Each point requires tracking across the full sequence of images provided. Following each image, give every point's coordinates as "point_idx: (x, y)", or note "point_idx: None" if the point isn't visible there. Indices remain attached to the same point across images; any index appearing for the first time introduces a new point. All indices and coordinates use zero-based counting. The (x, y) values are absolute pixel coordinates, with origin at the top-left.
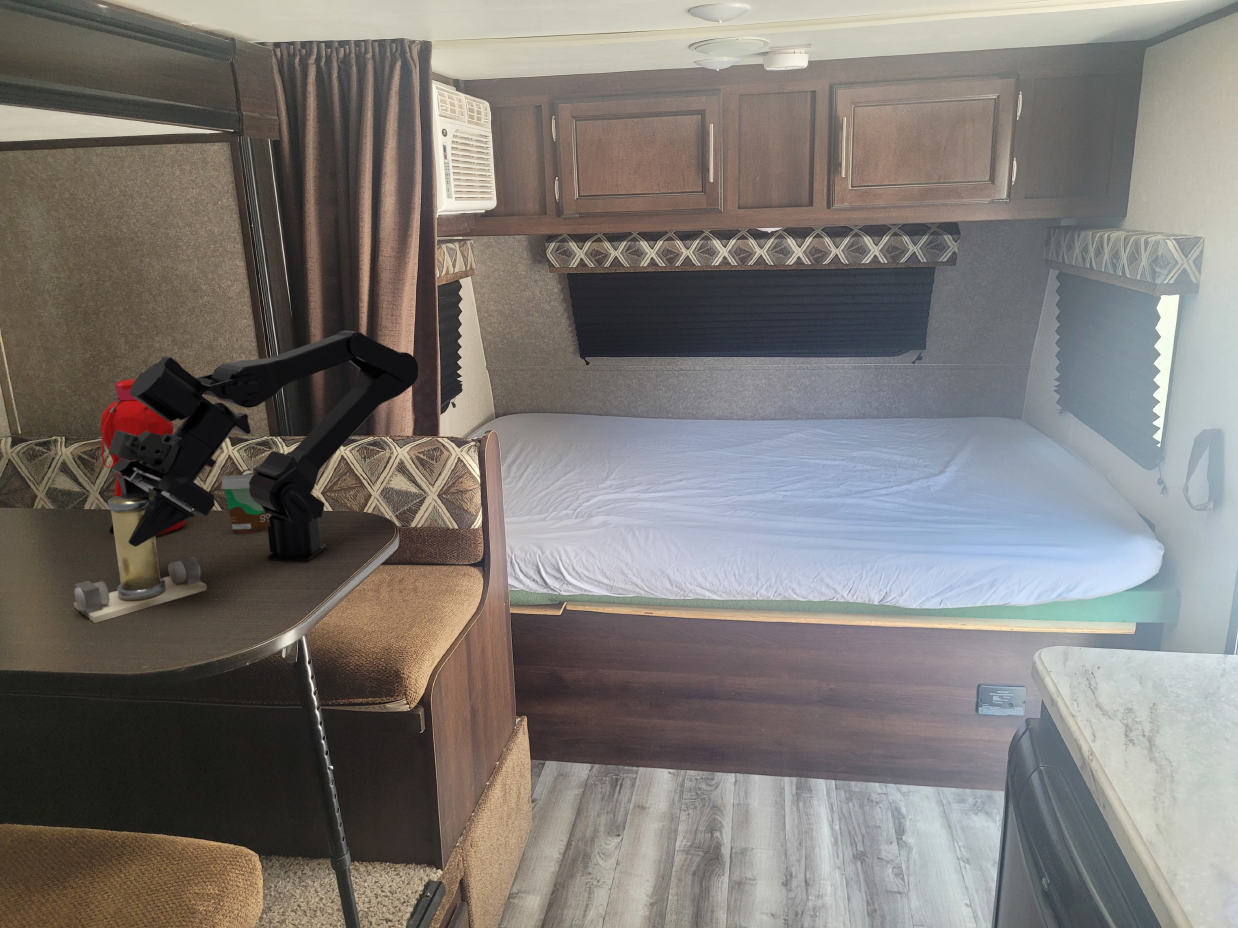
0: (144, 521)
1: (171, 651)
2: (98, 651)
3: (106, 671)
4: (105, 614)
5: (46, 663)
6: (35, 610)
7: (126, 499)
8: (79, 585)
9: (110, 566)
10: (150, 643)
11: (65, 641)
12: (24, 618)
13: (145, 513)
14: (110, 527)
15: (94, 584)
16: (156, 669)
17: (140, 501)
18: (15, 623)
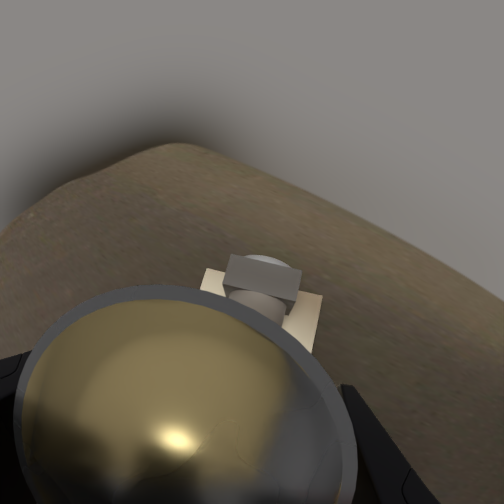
0: (25, 353)
1: (23, 255)
2: (109, 211)
3: (63, 187)
4: (200, 289)
5: (149, 163)
6: (375, 261)
7: (163, 441)
8: (282, 270)
9: (464, 452)
10: (58, 260)
11: (187, 208)
12: (353, 232)
13: (14, 377)
14: (350, 394)
15: (255, 292)
16: (18, 217)
17: (18, 416)
18: (342, 214)
